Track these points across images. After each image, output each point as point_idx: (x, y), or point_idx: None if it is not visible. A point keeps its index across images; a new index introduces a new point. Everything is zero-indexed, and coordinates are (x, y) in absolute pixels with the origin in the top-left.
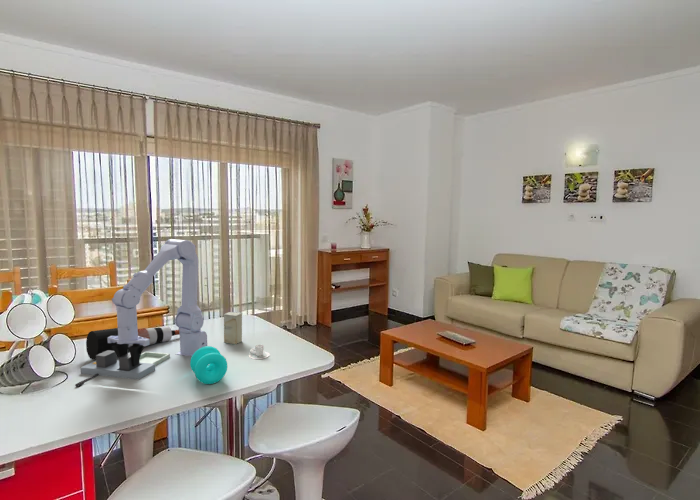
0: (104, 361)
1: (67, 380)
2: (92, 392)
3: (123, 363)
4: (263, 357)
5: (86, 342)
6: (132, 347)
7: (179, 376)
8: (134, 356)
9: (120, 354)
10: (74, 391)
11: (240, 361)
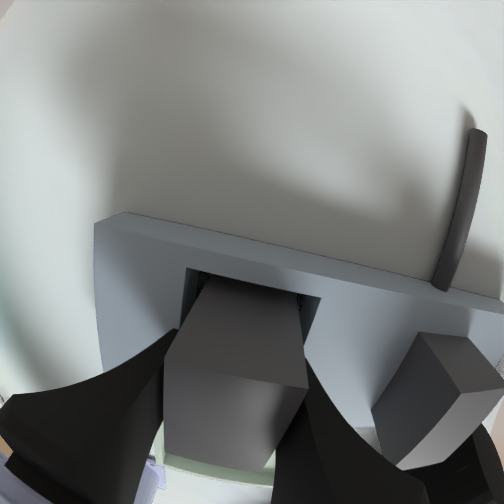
0: (443, 362)
1: None
2: (338, 35)
3: (246, 333)
4: None
5: (500, 462)
6: (15, 441)
7: (8, 269)
8: (103, 375)
9: (307, 435)
10: (448, 73)
11: None
